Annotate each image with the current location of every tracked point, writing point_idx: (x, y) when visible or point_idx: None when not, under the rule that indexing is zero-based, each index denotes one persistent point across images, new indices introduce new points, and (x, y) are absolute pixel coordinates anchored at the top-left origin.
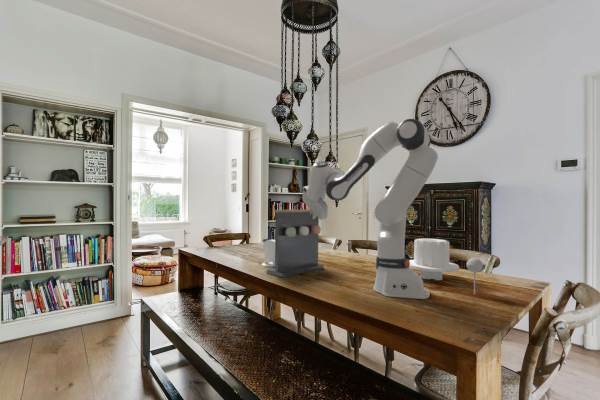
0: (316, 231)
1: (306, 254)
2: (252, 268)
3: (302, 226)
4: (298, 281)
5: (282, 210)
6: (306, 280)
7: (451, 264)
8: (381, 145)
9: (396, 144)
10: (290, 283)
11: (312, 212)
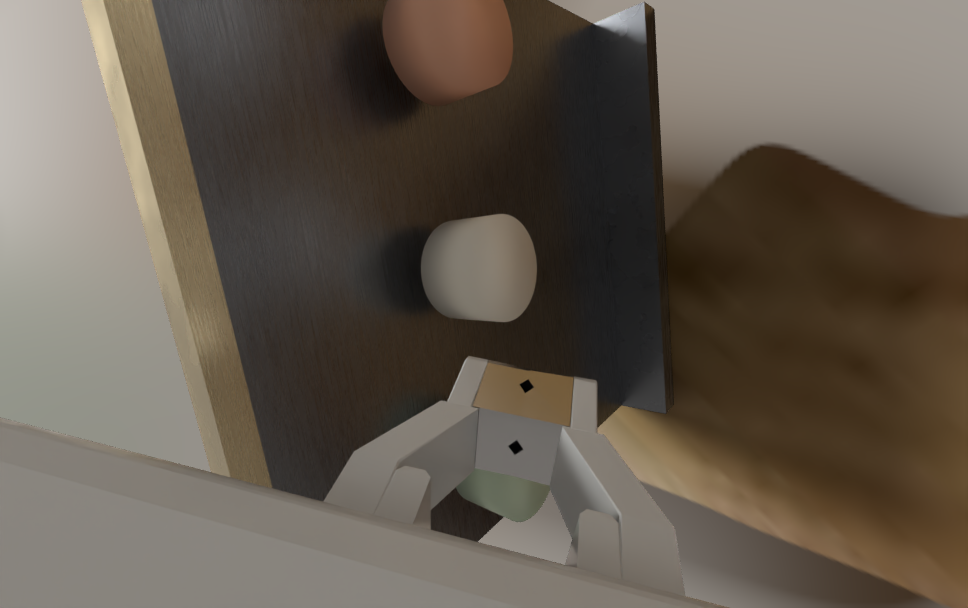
0: (492, 59)
1: (563, 158)
2: None
3: (439, 290)
4: (820, 429)
5: None
6: (847, 380)
7: None
8: None
9: None
10: (817, 492)
11: (455, 458)
